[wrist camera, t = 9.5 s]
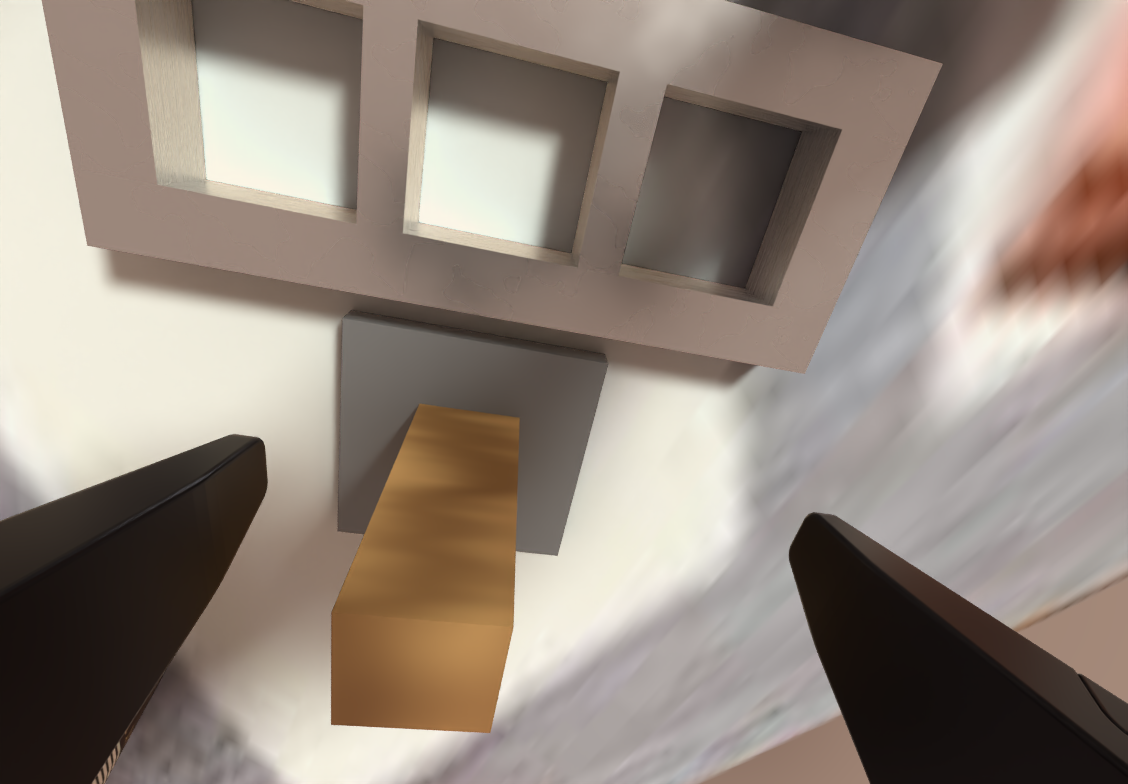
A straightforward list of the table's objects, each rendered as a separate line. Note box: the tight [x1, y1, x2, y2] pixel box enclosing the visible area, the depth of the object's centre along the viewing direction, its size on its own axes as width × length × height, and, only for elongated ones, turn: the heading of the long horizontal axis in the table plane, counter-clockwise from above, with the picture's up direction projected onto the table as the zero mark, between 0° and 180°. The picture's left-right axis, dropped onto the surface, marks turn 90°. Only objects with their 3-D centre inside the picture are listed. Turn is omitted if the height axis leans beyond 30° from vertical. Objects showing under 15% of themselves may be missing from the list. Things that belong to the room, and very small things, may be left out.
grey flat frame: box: [42, 0, 943, 374], centre depth 16 cm, size 24×10×2 cm, turn 78°
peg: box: [331, 404, 520, 733], centre depth 17 cm, size 4×4×10 cm
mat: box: [338, 310, 608, 556], centre depth 22 cm, size 10×10×1 cm
